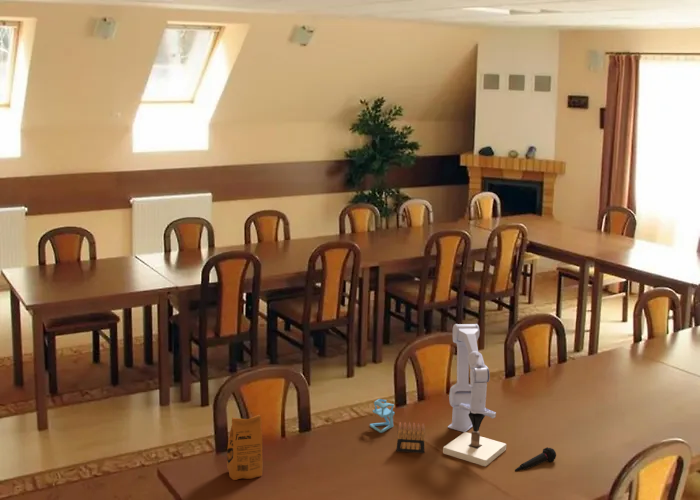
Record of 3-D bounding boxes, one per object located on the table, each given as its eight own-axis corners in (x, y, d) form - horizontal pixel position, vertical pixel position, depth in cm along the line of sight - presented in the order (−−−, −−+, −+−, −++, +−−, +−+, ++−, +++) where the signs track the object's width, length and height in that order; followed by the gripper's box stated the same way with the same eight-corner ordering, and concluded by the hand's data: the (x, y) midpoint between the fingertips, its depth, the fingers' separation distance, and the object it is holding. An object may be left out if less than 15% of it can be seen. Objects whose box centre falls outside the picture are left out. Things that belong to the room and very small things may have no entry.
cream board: (464, 437, 358) (464, 431, 357) (505, 449, 348) (506, 443, 347) (443, 453, 343) (443, 447, 343) (485, 466, 333) (486, 460, 333)
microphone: (518, 481, 330) (557, 462, 340) (521, 469, 327) (560, 451, 337) (508, 471, 334) (547, 453, 344) (511, 460, 331) (550, 442, 341)
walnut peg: (472, 449, 348) (473, 430, 346) (480, 451, 346) (481, 432, 344) (468, 452, 345) (470, 432, 343) (476, 454, 343) (477, 435, 342)
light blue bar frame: (396, 428, 364) (398, 401, 362) (380, 433, 360) (381, 405, 357) (385, 422, 370) (386, 394, 368) (369, 426, 366) (370, 398, 363)
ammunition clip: (424, 451, 345) (425, 422, 342) (424, 453, 343) (425, 423, 340) (396, 449, 346) (397, 420, 343) (396, 451, 344) (397, 422, 341)
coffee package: (225, 469, 325) (225, 412, 320) (259, 465, 329) (259, 409, 324) (229, 482, 316) (229, 424, 311) (264, 478, 319) (264, 420, 314)
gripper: (456, 396, 341) (454, 429, 344) (491, 405, 333) (488, 439, 337) (464, 390, 347) (462, 423, 350) (499, 399, 339) (496, 432, 342)
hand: (476, 430), depth 344 cm, fingers closed
